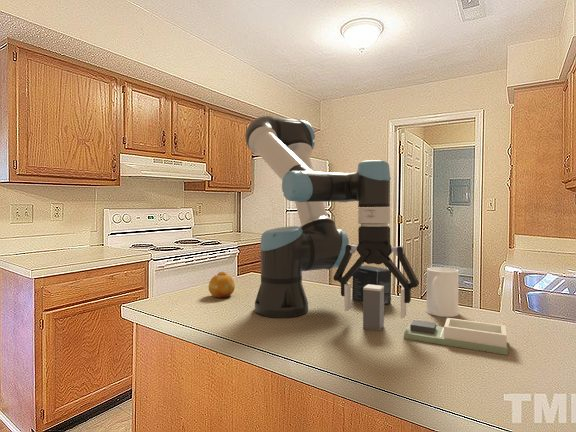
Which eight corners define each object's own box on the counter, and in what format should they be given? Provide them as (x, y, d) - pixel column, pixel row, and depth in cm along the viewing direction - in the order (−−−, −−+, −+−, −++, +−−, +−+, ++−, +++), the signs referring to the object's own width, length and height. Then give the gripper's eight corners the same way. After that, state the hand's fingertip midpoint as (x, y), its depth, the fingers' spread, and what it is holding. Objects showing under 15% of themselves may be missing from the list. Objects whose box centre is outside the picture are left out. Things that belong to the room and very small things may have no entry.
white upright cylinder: (445, 322, 95) (446, 275, 94) (414, 314, 101) (414, 270, 100) (464, 312, 103) (464, 269, 102) (434, 306, 109) (434, 265, 108)
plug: (363, 328, 90) (363, 287, 89) (367, 323, 93) (367, 284, 93) (379, 331, 88) (379, 289, 88) (383, 326, 91) (383, 285, 91)
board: (404, 338, 83) (404, 326, 83) (410, 327, 91) (410, 316, 90) (507, 355, 74) (507, 342, 74) (505, 341, 81) (505, 329, 81)
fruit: (225, 284, 128) (217, 266, 124) (242, 289, 124) (235, 271, 120) (209, 300, 123) (200, 282, 119) (226, 306, 118) (218, 288, 114)
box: (391, 303, 112) (392, 269, 112) (376, 307, 108) (377, 271, 108) (366, 296, 121) (366, 264, 120) (351, 299, 117) (351, 266, 117)
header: (443, 338, 80) (444, 326, 80) (446, 328, 86) (447, 317, 86) (506, 347, 74) (506, 335, 74) (504, 336, 81) (505, 325, 81)
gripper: (320, 225, 92) (321, 310, 93) (426, 226, 81) (427, 323, 81) (331, 224, 99) (332, 303, 99) (431, 225, 87) (431, 315, 88)
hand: (374, 312), depth 90 cm, fingers open, 13 cm apart
